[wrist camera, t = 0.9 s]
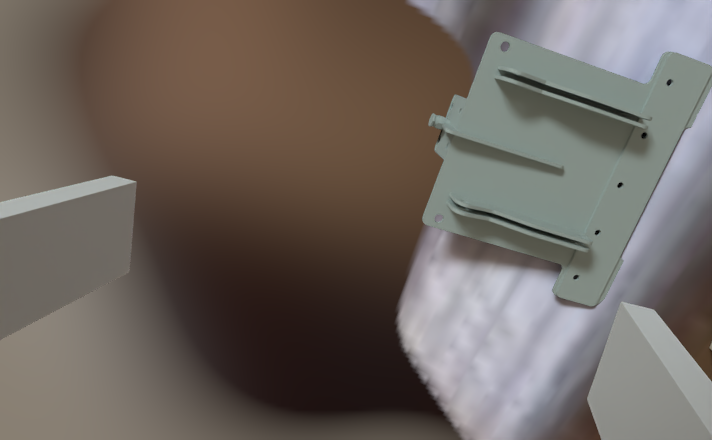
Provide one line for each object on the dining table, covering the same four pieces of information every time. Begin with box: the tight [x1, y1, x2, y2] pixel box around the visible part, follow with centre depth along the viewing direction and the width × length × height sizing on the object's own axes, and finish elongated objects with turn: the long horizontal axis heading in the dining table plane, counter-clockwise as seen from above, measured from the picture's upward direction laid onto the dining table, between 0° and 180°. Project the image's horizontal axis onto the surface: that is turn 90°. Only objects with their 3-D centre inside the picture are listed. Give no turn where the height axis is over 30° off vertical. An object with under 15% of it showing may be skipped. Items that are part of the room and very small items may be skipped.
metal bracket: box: [422, 32, 712, 306], centre depth 32 cm, size 14×6×15 cm
